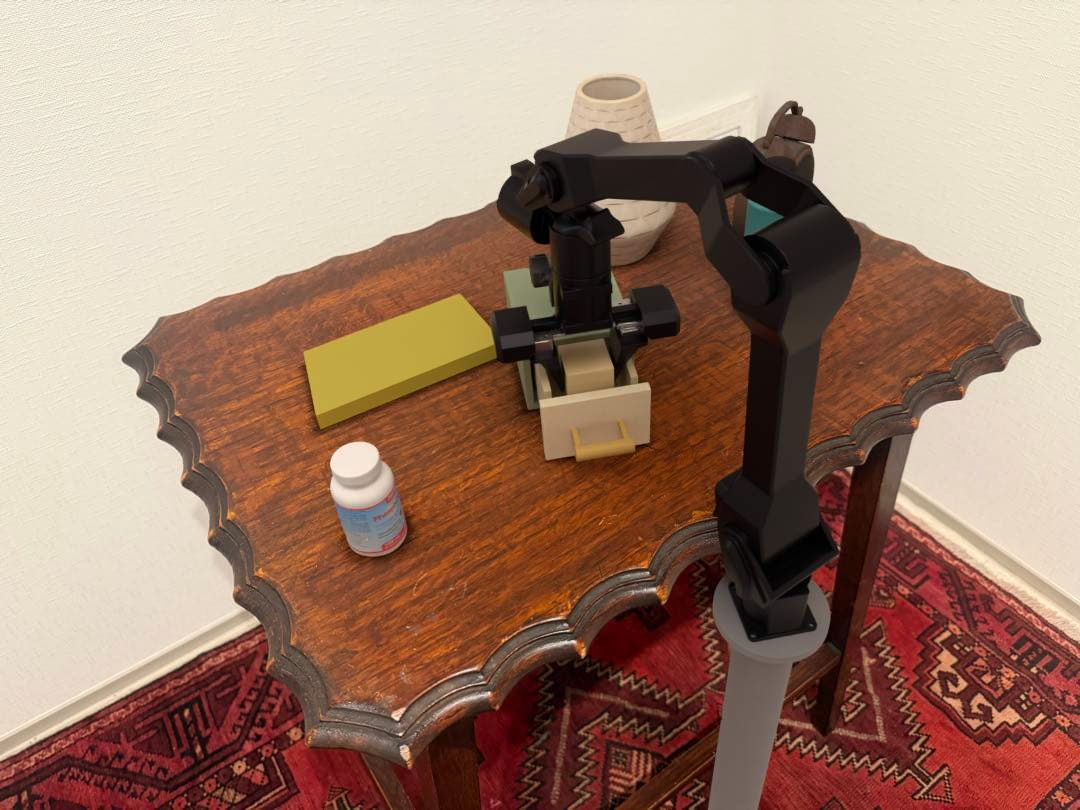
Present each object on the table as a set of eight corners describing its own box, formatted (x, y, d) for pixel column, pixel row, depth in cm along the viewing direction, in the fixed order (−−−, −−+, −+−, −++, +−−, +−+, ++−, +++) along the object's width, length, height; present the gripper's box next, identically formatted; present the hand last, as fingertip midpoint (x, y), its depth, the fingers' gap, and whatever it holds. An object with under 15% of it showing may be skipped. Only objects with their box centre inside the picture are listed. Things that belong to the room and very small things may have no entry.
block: (614, 403, 93) (614, 367, 89) (568, 411, 92) (566, 375, 89) (604, 373, 96) (603, 338, 93) (560, 380, 96) (557, 345, 93)
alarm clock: (774, 278, 115) (793, 137, 102) (723, 264, 119) (736, 125, 105) (813, 226, 124) (836, 89, 111) (765, 215, 127) (781, 80, 114)
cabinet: (634, 392, 101) (634, 327, 94) (528, 410, 100) (520, 345, 94) (607, 318, 112) (605, 255, 105) (510, 334, 111) (502, 271, 104)
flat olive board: (462, 306, 116) (289, 372, 108) (460, 293, 114) (284, 358, 107) (504, 354, 108) (320, 429, 100) (502, 341, 106) (315, 415, 99)
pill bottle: (398, 562, 85) (375, 486, 78) (339, 556, 86) (311, 480, 79) (415, 515, 90) (395, 438, 82) (359, 509, 91) (334, 433, 83)
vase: (662, 286, 116) (668, 122, 100) (538, 272, 120) (524, 113, 105) (684, 218, 128) (691, 62, 112) (570, 208, 132) (562, 57, 117)
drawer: (660, 471, 90) (662, 417, 85) (553, 490, 90) (548, 436, 84) (620, 364, 103) (620, 311, 98) (526, 379, 103) (521, 327, 97)
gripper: (654, 207, 90) (651, 327, 100) (475, 234, 88) (492, 352, 99) (685, 265, 81) (678, 389, 92) (488, 296, 80) (505, 418, 91)
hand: (586, 385), depth 94 cm, fingers closed on block, 5 cm apart
